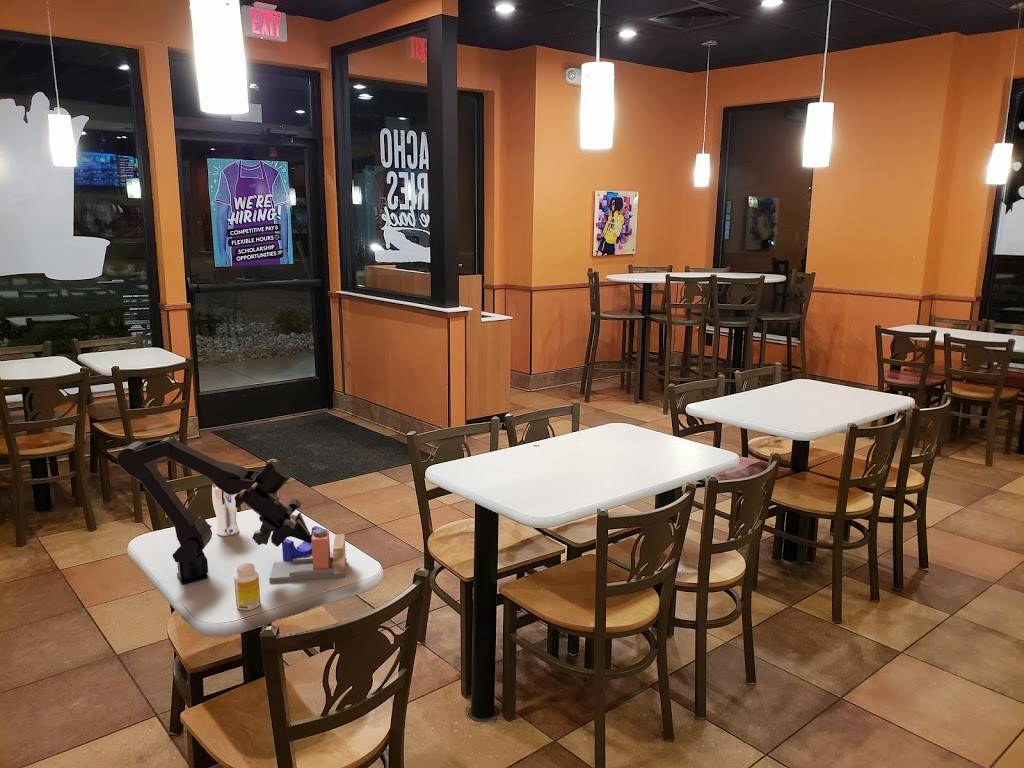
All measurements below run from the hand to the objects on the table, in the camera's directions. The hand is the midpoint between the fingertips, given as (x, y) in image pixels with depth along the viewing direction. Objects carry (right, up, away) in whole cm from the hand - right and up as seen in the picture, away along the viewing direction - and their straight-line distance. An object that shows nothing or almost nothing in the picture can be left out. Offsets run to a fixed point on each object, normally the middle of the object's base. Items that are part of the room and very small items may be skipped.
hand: (311, 541), depth 200 cm
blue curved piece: (-6, -6, +13) cm, 16 cm away
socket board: (-1, -8, +2) cm, 9 cm away
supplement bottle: (-11, -13, -15) cm, 23 cm away
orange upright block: (+2, -7, +2) cm, 8 cm away
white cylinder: (-32, -3, +26) cm, 41 cm away
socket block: (+7, -7, +3) cm, 10 cm away
